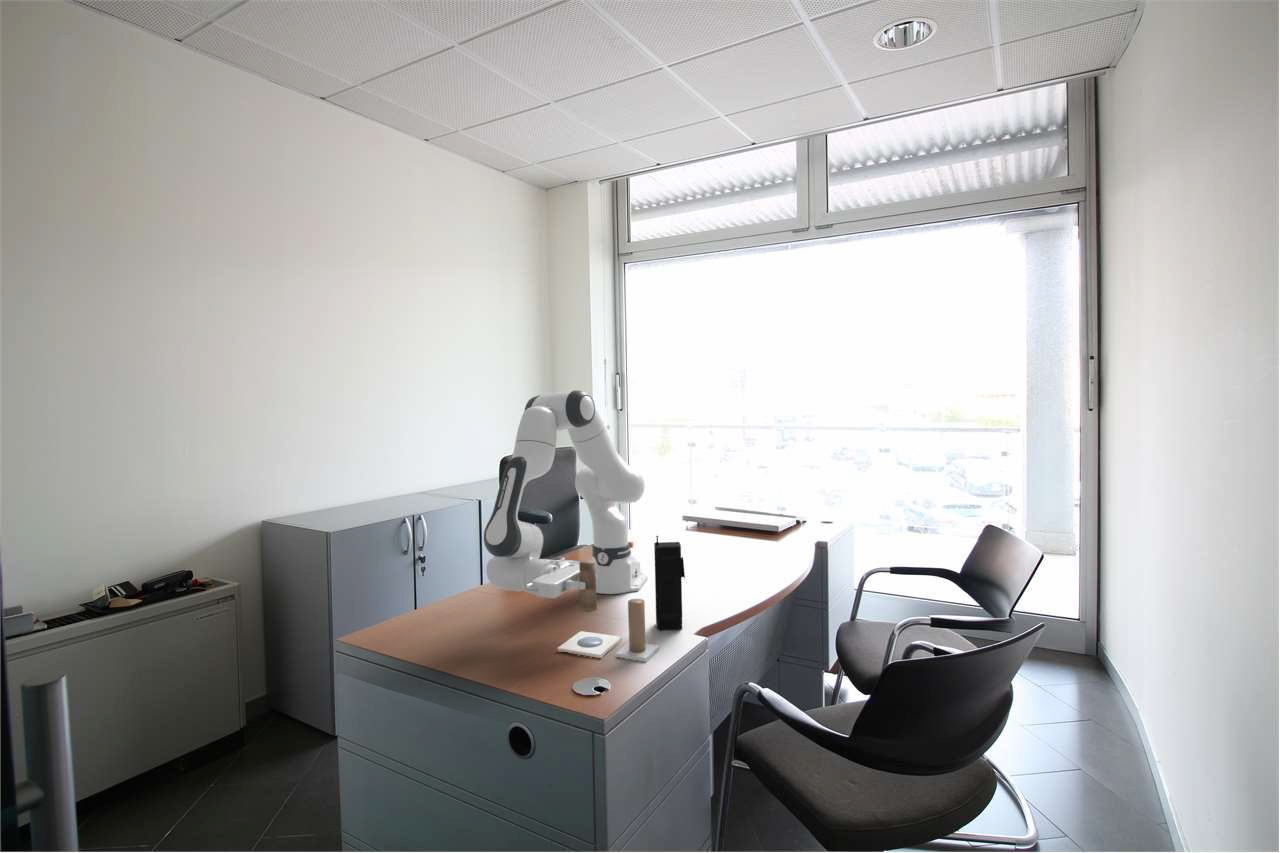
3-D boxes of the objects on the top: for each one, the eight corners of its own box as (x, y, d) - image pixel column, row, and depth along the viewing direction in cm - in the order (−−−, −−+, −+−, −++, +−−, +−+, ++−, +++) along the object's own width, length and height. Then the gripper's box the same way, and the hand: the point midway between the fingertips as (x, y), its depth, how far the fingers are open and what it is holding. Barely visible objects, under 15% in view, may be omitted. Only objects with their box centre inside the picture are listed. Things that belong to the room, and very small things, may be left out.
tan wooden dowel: (629, 645, 171) (628, 594, 170) (658, 649, 168) (657, 598, 167) (615, 657, 164) (614, 604, 163) (646, 662, 161) (644, 608, 160)
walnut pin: (585, 606, 173) (584, 559, 172) (599, 608, 171) (598, 561, 171) (577, 611, 169) (576, 563, 169) (591, 613, 168) (590, 565, 167)
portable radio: (684, 621, 187) (682, 531, 185) (686, 629, 181) (684, 536, 179) (655, 622, 187) (653, 532, 185) (657, 630, 181) (654, 537, 179)
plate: (580, 634, 179) (580, 630, 179) (622, 640, 174) (621, 636, 174) (557, 651, 168) (557, 647, 168) (600, 658, 163) (600, 654, 163)
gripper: (520, 575, 166) (569, 581, 160) (563, 555, 184) (608, 559, 179) (521, 601, 166) (570, 607, 160) (563, 578, 185) (609, 583, 179)
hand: (591, 582), depth 170 cm, fingers closed on walnut pin, 4 cm apart
